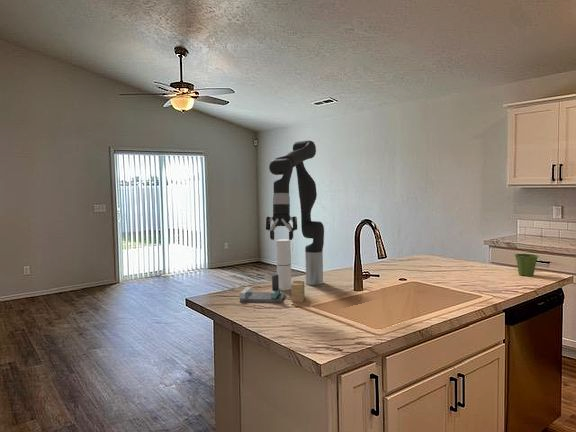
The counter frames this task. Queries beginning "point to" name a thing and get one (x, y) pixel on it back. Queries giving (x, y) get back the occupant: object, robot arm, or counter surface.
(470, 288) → the counter surface
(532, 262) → the plant pot
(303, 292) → the block
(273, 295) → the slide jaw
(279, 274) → the cylindrical container
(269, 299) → the vise
